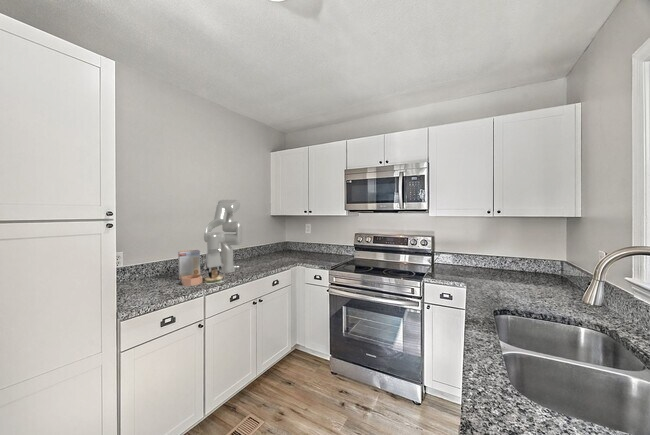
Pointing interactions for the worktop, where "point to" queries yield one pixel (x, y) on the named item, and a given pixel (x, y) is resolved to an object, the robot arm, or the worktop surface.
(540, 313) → the worktop surface
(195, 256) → the cracker box
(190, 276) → the bowl
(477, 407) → the worktop surface
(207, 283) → the mat
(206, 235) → the robot arm
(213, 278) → the lid
